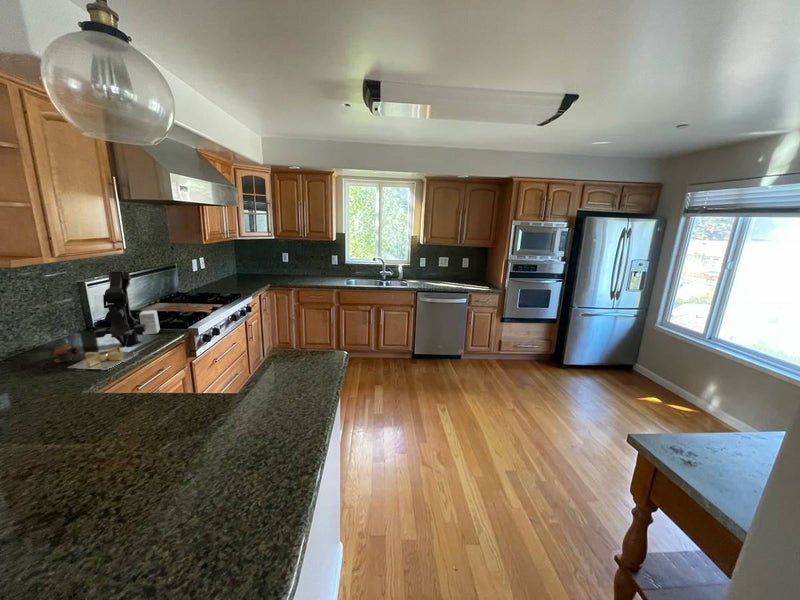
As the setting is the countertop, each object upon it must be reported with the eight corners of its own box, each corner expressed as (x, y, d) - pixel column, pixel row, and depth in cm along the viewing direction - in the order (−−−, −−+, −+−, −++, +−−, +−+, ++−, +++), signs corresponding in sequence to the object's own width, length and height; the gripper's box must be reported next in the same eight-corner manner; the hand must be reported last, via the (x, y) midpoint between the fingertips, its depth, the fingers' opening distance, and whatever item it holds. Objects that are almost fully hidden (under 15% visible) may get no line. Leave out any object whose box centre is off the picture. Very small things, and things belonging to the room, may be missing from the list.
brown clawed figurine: (46, 366, 151) (41, 350, 152) (61, 367, 160) (56, 351, 160) (77, 357, 155) (73, 340, 155) (90, 357, 163) (85, 342, 164)
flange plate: (101, 353, 165) (101, 350, 164) (138, 354, 165) (137, 351, 164) (66, 370, 147) (65, 366, 147) (107, 371, 147) (106, 367, 147)
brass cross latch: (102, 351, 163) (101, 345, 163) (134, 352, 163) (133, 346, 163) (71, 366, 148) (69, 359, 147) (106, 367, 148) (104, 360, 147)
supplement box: (145, 330, 197) (142, 310, 194) (160, 329, 200) (157, 309, 197) (142, 334, 191) (138, 314, 188) (157, 333, 194) (154, 313, 191)
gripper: (87, 324, 145) (94, 356, 149) (140, 318, 154) (145, 349, 158) (94, 317, 155) (101, 348, 159) (143, 312, 164) (149, 341, 168)
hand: (124, 347), depth 160 cm, fingers closed
